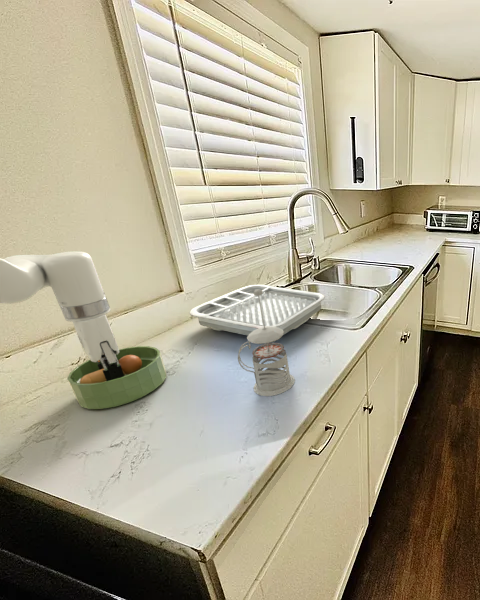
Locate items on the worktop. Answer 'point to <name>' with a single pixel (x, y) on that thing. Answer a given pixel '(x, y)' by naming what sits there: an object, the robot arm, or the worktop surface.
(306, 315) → the dish rack
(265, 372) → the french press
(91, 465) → the worktop surface
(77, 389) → the green shallow bowl
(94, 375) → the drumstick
